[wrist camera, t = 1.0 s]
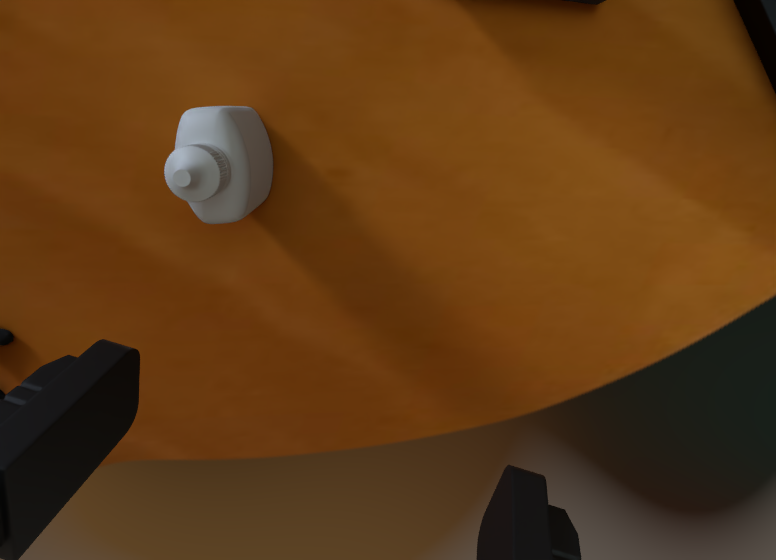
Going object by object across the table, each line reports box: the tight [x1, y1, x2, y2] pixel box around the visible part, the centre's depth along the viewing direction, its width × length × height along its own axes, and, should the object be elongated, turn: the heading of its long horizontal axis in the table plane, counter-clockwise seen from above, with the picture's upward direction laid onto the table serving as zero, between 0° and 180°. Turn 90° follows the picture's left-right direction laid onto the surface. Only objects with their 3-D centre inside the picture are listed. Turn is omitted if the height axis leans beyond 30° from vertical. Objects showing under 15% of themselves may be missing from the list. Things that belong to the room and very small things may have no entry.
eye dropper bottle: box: [164, 106, 273, 224], centre depth 29 cm, size 4×6×12 cm
